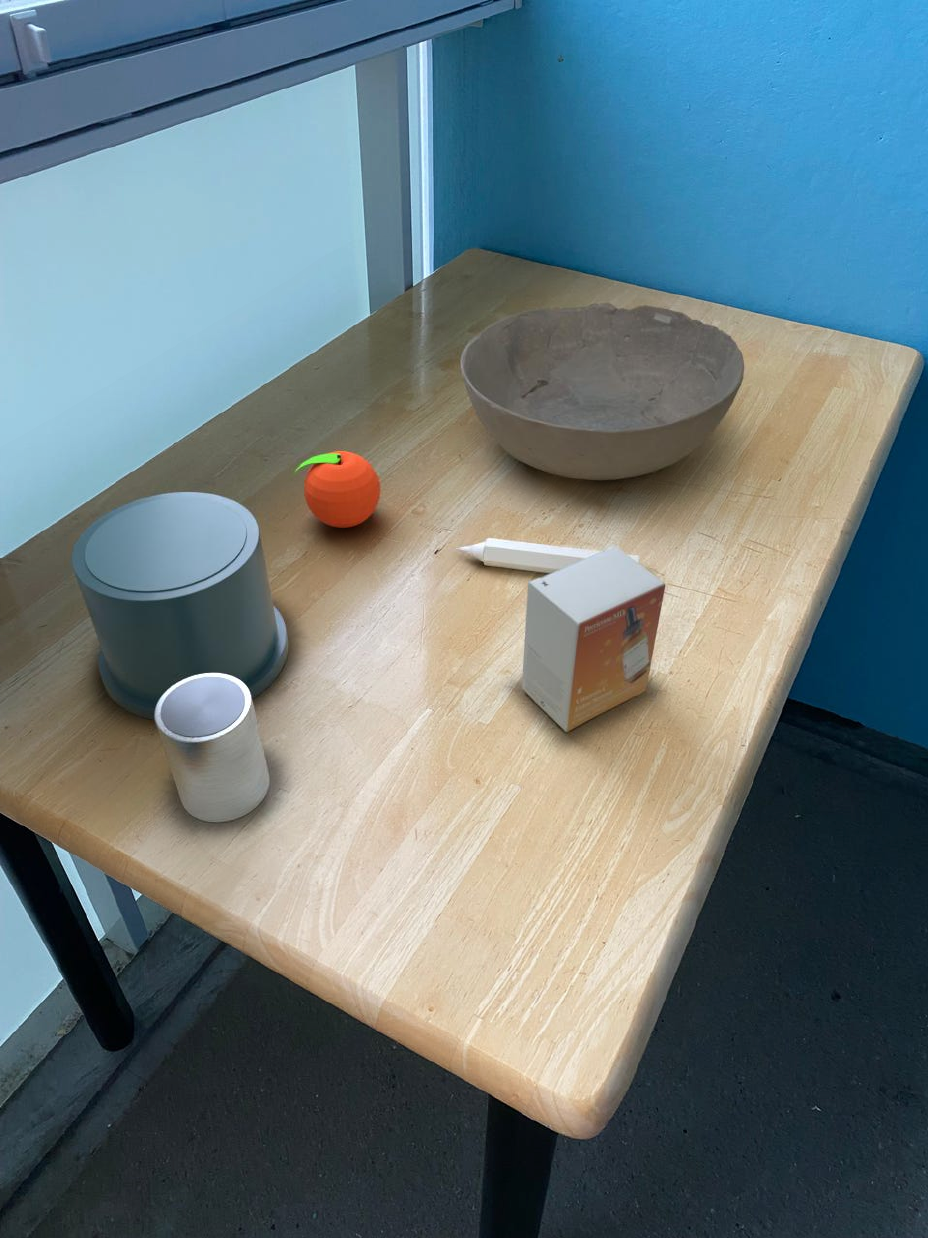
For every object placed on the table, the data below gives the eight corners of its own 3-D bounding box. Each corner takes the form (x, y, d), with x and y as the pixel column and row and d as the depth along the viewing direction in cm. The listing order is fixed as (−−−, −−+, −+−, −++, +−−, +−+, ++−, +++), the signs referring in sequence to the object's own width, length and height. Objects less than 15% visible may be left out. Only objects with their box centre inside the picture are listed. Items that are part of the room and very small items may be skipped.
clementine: (291, 542, 85) (281, 476, 80) (302, 500, 90) (293, 434, 85) (379, 543, 85) (374, 476, 80) (385, 500, 90) (380, 434, 85)
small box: (565, 735, 67) (576, 626, 60) (519, 689, 70) (524, 580, 64) (649, 691, 70) (668, 582, 63) (601, 649, 74) (615, 541, 67)
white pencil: (455, 562, 84) (635, 582, 81) (451, 565, 81) (635, 585, 79) (458, 533, 83) (639, 552, 80) (453, 535, 81) (639, 555, 78)
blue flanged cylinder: (100, 739, 67) (55, 623, 60) (103, 613, 77) (65, 501, 70) (300, 700, 70) (280, 585, 62) (277, 583, 80) (257, 473, 73)
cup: (182, 831, 61) (155, 750, 56) (178, 763, 65) (152, 681, 60) (274, 811, 62) (256, 730, 57) (264, 745, 66) (246, 664, 61)
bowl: (755, 412, 102) (774, 325, 96) (679, 547, 84) (697, 450, 77) (527, 362, 112) (530, 279, 105) (413, 472, 93) (409, 381, 87)
